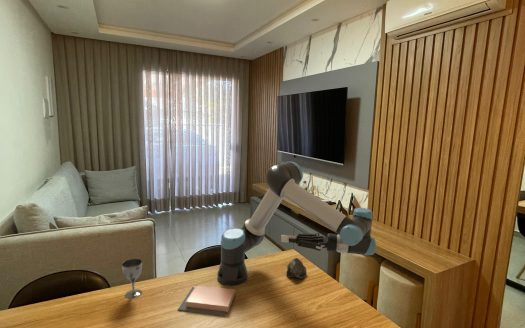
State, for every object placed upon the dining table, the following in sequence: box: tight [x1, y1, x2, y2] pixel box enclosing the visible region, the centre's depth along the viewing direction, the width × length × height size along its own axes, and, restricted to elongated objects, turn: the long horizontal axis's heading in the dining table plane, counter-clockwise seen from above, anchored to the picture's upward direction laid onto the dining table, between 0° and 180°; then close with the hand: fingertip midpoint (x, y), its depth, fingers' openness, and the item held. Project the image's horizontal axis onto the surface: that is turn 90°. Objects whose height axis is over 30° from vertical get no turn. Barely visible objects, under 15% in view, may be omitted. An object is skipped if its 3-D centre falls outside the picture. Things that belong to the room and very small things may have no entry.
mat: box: [177, 286, 227, 317], centre depth 128 cm, size 16×20×1 cm
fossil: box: [286, 257, 308, 280], centre depth 151 cm, size 11×9×10 cm
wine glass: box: [121, 258, 143, 300], centre depth 130 cm, size 8×8×15 cm
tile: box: [186, 284, 236, 313], centre depth 127 cm, size 12×2×18 cm
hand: (281, 238), depth 128 cm, fingers closed
